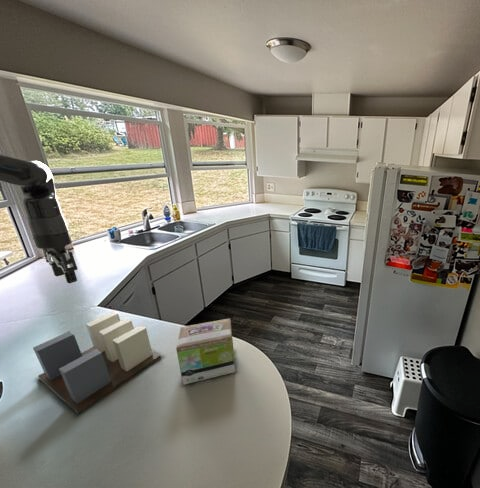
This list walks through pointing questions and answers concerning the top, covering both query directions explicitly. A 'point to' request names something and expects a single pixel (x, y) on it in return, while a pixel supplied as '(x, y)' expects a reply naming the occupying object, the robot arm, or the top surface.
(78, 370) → the grey book
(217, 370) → the tea box
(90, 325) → the cream book
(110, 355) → the cream book
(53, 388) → the shelf board
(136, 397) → the top surface
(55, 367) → the grey book
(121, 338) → the cream book
